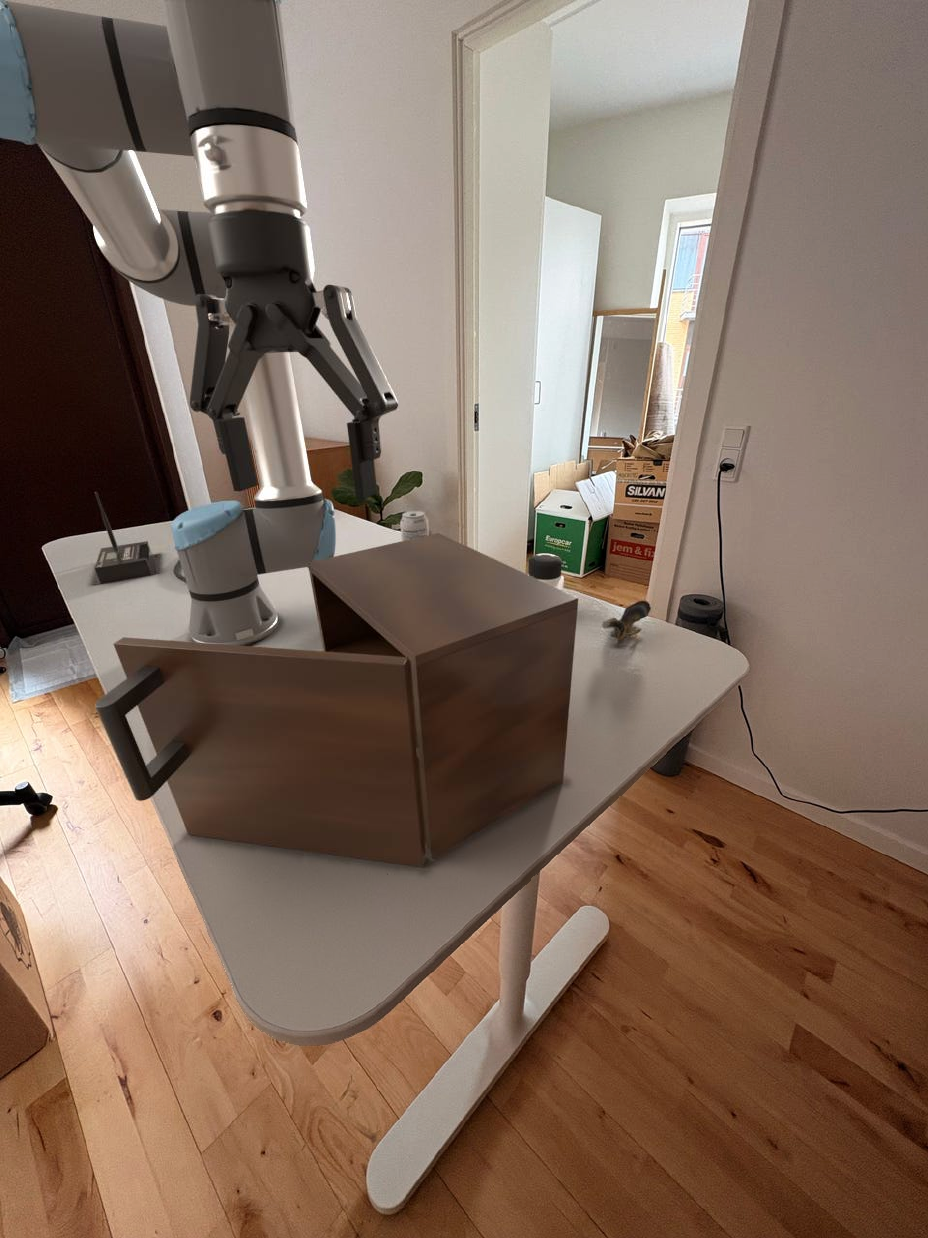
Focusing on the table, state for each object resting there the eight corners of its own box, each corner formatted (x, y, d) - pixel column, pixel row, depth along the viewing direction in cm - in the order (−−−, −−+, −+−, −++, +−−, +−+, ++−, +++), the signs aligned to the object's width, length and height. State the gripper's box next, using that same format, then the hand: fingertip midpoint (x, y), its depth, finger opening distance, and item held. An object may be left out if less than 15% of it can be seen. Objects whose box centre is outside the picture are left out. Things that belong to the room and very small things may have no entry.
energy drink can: (433, 573, 120) (429, 509, 113) (429, 583, 114) (425, 517, 107) (408, 573, 120) (402, 509, 113) (402, 583, 115) (396, 517, 108)
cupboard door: (407, 925, 46) (380, 710, 35) (149, 884, 50) (54, 681, 39) (426, 857, 52) (408, 657, 41) (194, 826, 56) (123, 637, 45)
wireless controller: (159, 573, 124) (136, 503, 116) (91, 585, 119) (62, 512, 111) (159, 549, 140) (139, 486, 132) (99, 559, 134) (75, 493, 126)
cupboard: (431, 859, 52) (415, 656, 41) (336, 724, 71) (307, 562, 60) (563, 782, 61) (578, 598, 50) (446, 681, 80) (438, 532, 69)
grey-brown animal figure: (652, 648, 85) (660, 616, 91) (631, 615, 83) (640, 585, 89) (611, 659, 90) (621, 628, 96) (590, 628, 88) (602, 599, 94)
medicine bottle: (560, 625, 95) (564, 565, 90) (522, 622, 97) (523, 563, 91) (562, 608, 101) (565, 551, 96) (525, 606, 103) (527, 549, 97)
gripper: (95, 223, 40) (172, 493, 50) (380, 184, 33) (406, 510, 43) (171, 239, 47) (227, 477, 56) (425, 210, 39) (438, 489, 49)
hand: (304, 492), depth 50 cm, fingers open, 13 cm apart
